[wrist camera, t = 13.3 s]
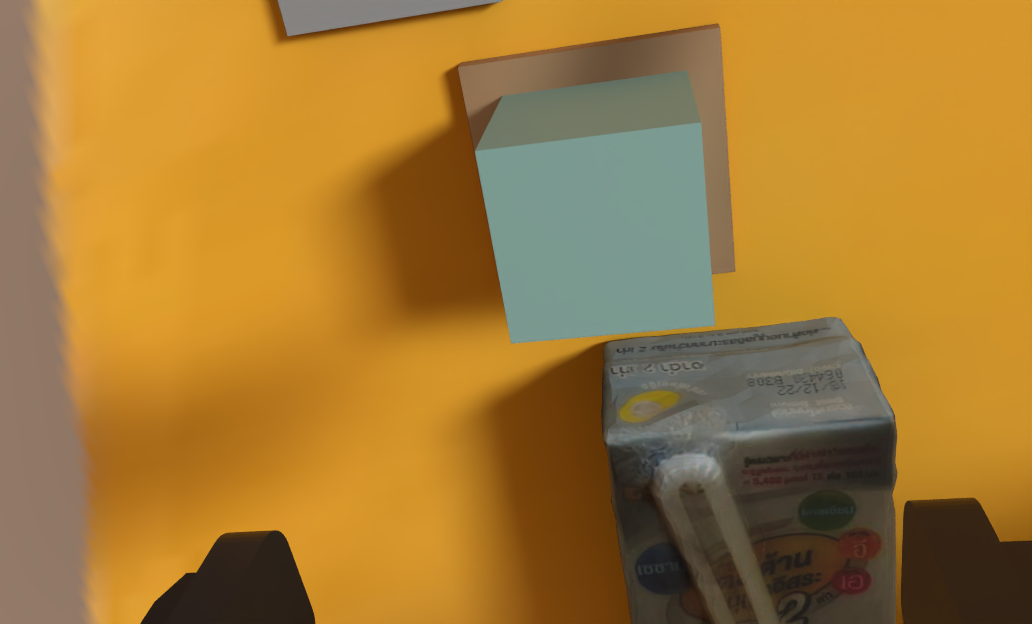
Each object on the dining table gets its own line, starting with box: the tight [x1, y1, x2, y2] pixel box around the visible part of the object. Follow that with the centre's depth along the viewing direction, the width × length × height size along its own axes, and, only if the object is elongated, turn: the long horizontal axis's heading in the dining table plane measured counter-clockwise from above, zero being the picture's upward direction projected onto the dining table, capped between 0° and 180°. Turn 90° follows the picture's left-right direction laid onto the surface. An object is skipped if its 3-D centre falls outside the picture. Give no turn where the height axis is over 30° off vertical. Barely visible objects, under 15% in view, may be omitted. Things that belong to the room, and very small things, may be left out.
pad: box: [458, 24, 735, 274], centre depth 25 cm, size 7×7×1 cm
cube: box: [475, 71, 715, 343], centre depth 23 cm, size 5×5×5 cm
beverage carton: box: [601, 317, 897, 624], centre depth 29 cm, size 8×19×7 cm, turn 10°
